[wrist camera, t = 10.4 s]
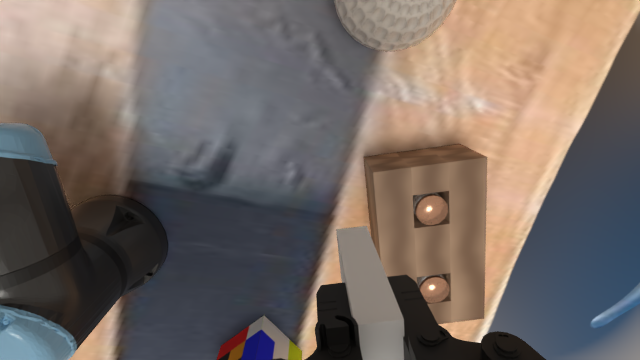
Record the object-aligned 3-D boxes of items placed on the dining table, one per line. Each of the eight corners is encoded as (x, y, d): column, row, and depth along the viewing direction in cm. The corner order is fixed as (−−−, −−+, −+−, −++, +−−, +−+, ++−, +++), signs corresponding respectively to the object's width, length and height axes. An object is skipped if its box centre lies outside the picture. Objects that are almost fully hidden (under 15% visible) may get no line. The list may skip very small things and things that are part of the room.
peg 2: (406, 273, 54) (421, 304, 47) (405, 252, 53) (419, 280, 46) (431, 270, 54) (449, 300, 47) (430, 248, 53) (449, 276, 45)
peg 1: (402, 205, 50) (417, 227, 43) (400, 180, 49) (415, 198, 42) (428, 201, 50) (448, 223, 43) (428, 176, 49) (447, 194, 42)
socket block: (376, 295, 56) (387, 330, 48) (363, 157, 49) (373, 172, 41) (460, 284, 56) (484, 318, 48) (459, 144, 48) (487, 157, 41)
